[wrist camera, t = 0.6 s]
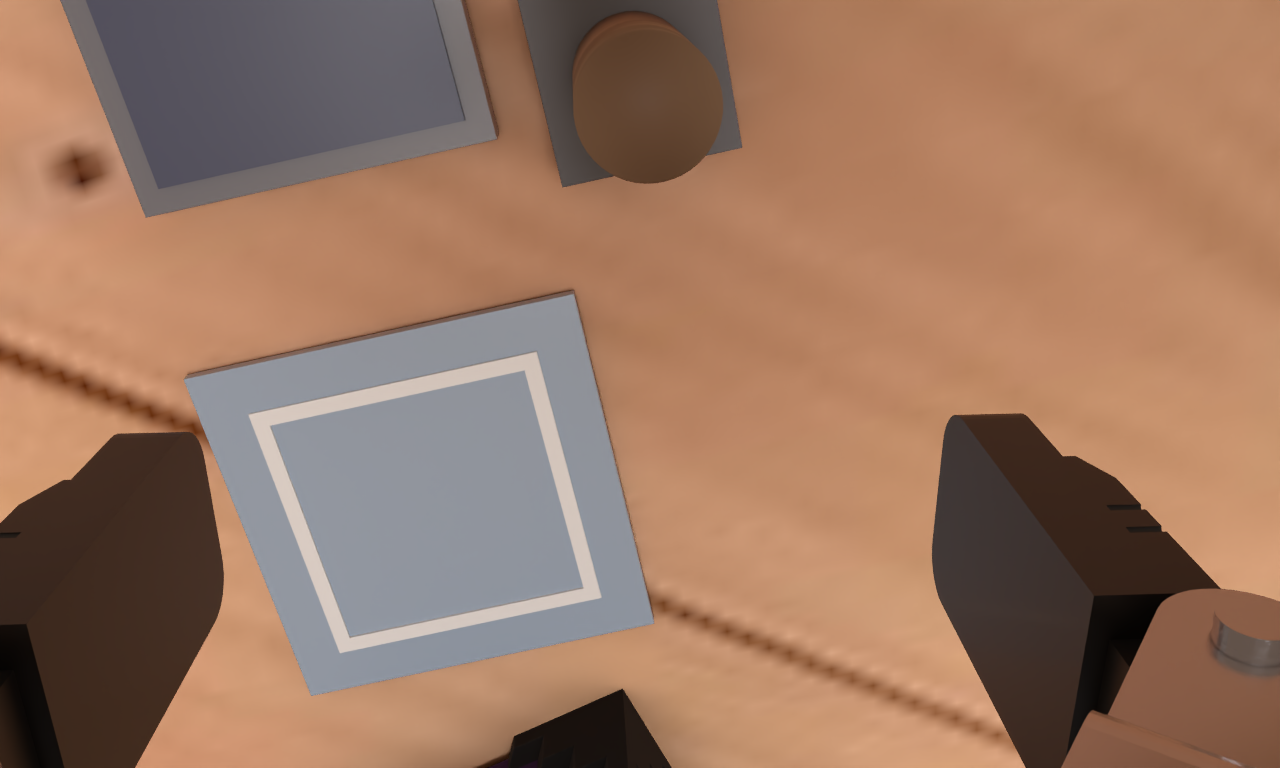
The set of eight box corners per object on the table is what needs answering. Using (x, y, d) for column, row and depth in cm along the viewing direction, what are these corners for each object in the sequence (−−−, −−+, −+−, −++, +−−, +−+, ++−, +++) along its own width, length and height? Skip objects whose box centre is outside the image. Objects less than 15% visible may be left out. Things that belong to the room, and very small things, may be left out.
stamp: (700, -48, 30) (743, -41, 22) (732, 135, 32) (782, 197, 24) (520, -7, 30) (504, 14, 23) (562, 172, 32) (561, 245, 24)
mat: (573, 289, 33) (573, 294, 33) (653, 616, 38) (654, 625, 37) (187, 374, 33) (182, 380, 33) (313, 688, 38) (310, 697, 38)
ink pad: (419, -177, 28) (413, -181, 27) (498, 132, 31) (496, 140, 30) (42, -89, 28) (21, -90, 27) (158, 208, 31) (143, 219, 30)
